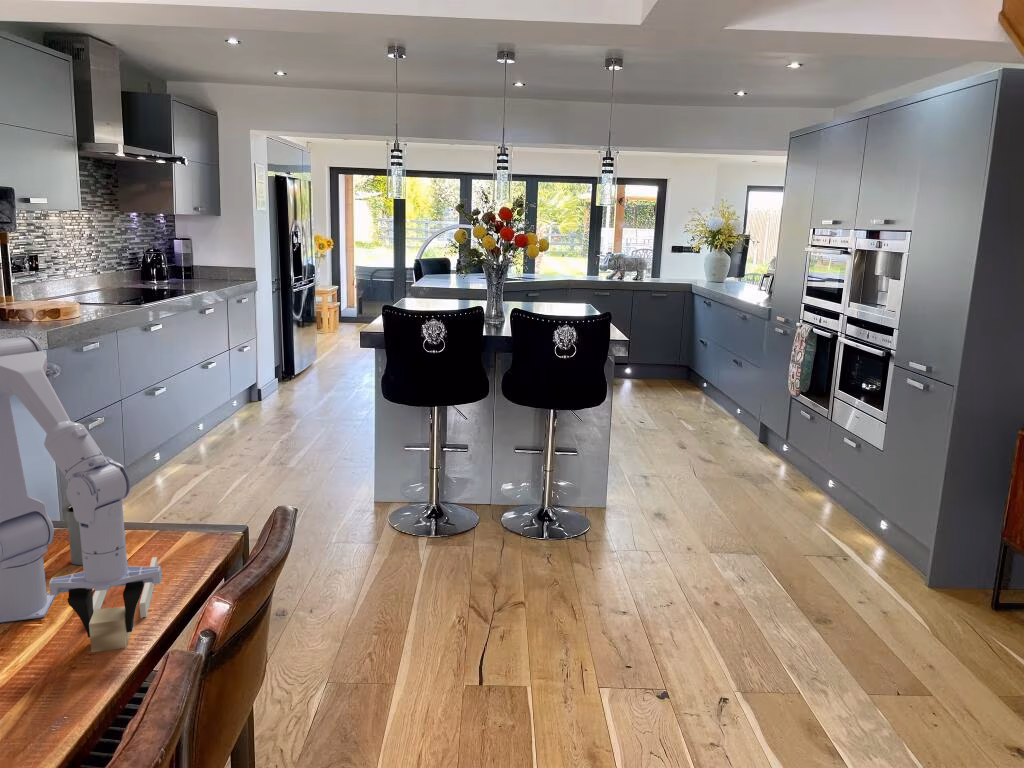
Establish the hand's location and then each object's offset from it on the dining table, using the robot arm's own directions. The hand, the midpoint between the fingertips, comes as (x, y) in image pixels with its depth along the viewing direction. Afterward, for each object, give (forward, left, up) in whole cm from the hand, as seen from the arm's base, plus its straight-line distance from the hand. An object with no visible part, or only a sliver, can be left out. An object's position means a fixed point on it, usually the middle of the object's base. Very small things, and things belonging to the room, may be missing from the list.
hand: (111, 631), depth 115 cm
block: (0, -1, -1) cm, 2 cm away
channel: (0, +15, -1) cm, 15 cm away
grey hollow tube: (-9, +32, -2) cm, 33 cm away
